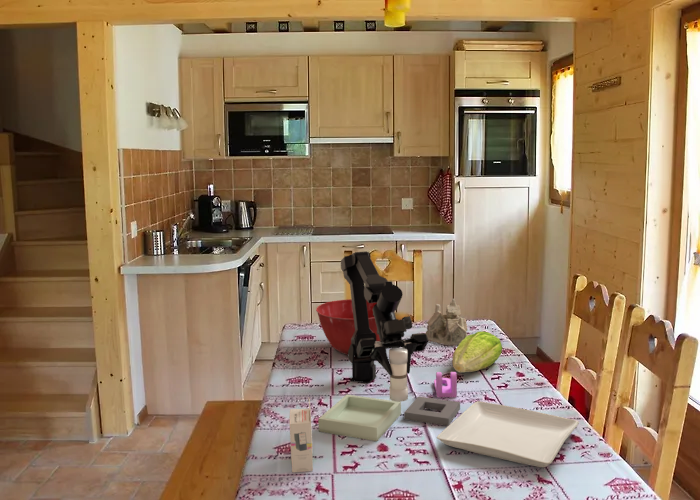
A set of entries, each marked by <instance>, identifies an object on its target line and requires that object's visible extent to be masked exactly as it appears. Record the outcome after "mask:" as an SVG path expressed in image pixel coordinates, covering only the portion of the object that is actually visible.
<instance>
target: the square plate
mask: <svg viewBox="0 0 700 500" xmlns="http://www.w3.org/2000/svg"><path fill="white" fill-rule="evenodd" d="M579 424H580V421H578V420H576V419H571V418H566V417H562V416H557V415H553V414H548V413H544V412H538V411H536V410H531V409H527V408H526V409H524V408H520V407H514V406H510V405H509V406H508V405H503V404H499V403H498V404H497V403H493V402H485V401H475V402H473V404H472V405H471V406H469V407H468V408H466V410H465V411H463V412H462V413H461V414H460V415H458V417H456V419H454V420H452V422H451V423H450V425H449V426H446V428H444V429H443V430H442V431H441V432H440V433H439V434H438V435H437V436H436V439H438V440H439V441H440V442H441V443H442V444H444V445H447V446H449V447H453V448H456V449H460V450H464V451H468V452H470V453H475V454H479V455H483V456H488V457H492V458H495V459H501V460H505V461H508V462H513V463H516V464H517V463H518V464H520V465H529V466H532V467H537V468H546V467H548V466H550V464H552V462H554V459H556V456H557V455H558V453H559V451H560V450H561V448H562V446H563V444H564V443H565V442H566V440H567V439H568V438H569V437H570V436H571V434H572V433H573V432H574V430H576V428H577V427H578V426H579Z"/></svg>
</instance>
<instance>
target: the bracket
mask: <svg viewBox="0 0 700 500" xmlns="http://www.w3.org/2000/svg"><path fill="white" fill-rule="evenodd" d="M435 372H436V371H435ZM449 374H450V378H448V377H443V373H442V372H441V371H437V372H436V373H435V379H434V380H433V386H434V389H435V394H436V397H437V398H457V397H458V392H457V389H458V388H457V386H458V381H457V380H458V378H457V371H450V373H449ZM443 384H444V385H443Z"/></svg>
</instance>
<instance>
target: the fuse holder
mask: <svg viewBox="0 0 700 500" xmlns="http://www.w3.org/2000/svg"><path fill="white" fill-rule="evenodd" d="M425 409H426V410H425ZM429 410H430V411H429ZM431 410H434V411H431ZM460 410H461V402H460V401H454V400H448V399H447V400H446V399H439V398H433V397H432V398H431V397H426V396H424V397H423V396H417V397H416V399H415V400H413V402H412V403H411V404H410V406H408V407H407V408H406V410H405V411H404V419H403V420H407V421H414V422H420V423H425V424H426V423H427V424H433V425H439V426H446V427H448V426H449V425H450V424H451V423H452V422H453V421H454V420H455V419H454V418H455V417H456V416H457V414H458V413H459V411H460ZM437 411H440V412H437Z"/></svg>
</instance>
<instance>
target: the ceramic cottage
mask: <svg viewBox="0 0 700 500" xmlns="http://www.w3.org/2000/svg"><path fill="white" fill-rule="evenodd" d="M460 307H461V306H460V305H459V304H458V305H457V303H456V299H455V298H452V299H451V301H450V302H449V304H448V305H446V307H445V308H446V309H445V310H446V311H445V313H446V314H442V313H441V305H440V304H438V303H436V304H435V309H434V313H433V314H432V316H431V317H430V318H429V320H428V321H426V324H427V326H426V331H425V332H424V333H425V334H426V335H427V336H428V340H429V342H433V343H437V344H440V345H444V346H454V347H455V346H458V345H459V344H460V343H461V341H462V340H463V339H464V338H466V337H467V336H468V335H469V334H468V333H467V331H469V330H468V325H467V319H466V318H463V317H461V315H462V314H461V308H460Z"/></svg>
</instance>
